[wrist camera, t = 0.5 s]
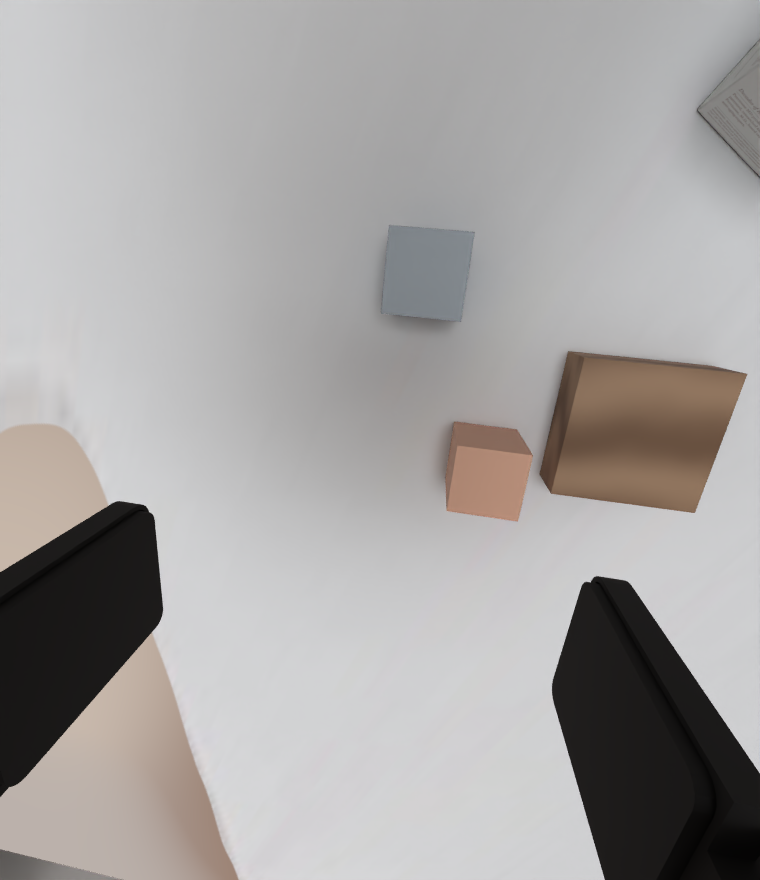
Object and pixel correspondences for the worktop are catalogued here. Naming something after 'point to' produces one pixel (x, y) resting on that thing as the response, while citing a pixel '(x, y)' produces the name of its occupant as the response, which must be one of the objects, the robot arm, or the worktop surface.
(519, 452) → the terracotta block
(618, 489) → the walnut base
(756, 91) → the supplement box
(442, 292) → the grey block
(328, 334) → the worktop surface
